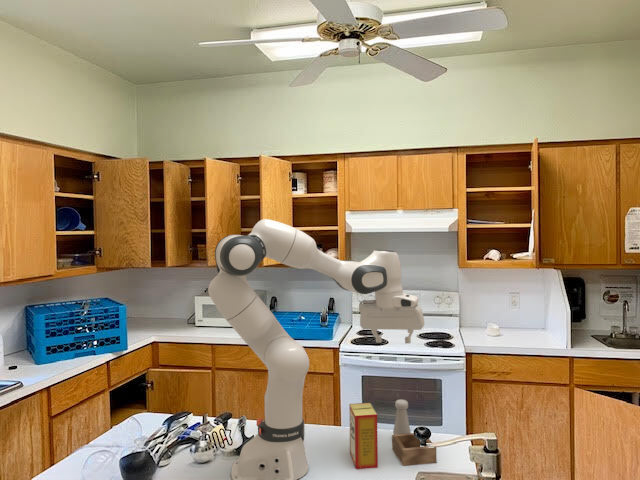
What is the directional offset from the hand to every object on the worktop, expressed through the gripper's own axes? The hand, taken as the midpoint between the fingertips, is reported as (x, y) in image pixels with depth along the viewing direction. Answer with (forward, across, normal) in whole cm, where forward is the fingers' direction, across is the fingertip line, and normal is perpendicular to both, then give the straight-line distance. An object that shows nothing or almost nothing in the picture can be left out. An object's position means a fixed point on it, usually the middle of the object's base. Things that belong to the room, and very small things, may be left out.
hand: (393, 342), depth 141 cm
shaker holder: (+34, +4, -4) cm, 35 cm away
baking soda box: (+33, -9, -13) cm, 36 cm away
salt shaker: (+35, -1, +5) cm, 35 cm away
